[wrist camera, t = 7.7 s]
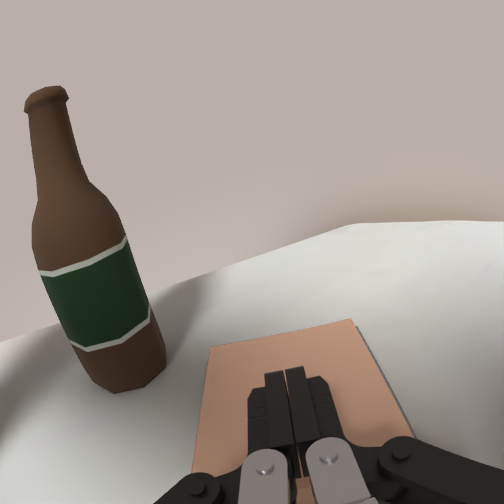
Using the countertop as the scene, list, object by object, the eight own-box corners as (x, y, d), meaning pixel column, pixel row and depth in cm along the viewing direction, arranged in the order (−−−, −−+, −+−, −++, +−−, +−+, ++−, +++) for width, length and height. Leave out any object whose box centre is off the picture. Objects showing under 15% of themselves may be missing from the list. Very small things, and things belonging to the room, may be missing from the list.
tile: (188, 497, 10) (210, 346, 21) (205, 516, 11) (219, 371, 22) (421, 454, 10) (350, 318, 21) (413, 477, 10) (352, 344, 22)
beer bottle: (86, 365, 26) (5, 120, 18) (152, 333, 30) (84, 96, 23) (104, 409, 20) (-7, 90, 12) (186, 366, 24) (99, 61, 16)
